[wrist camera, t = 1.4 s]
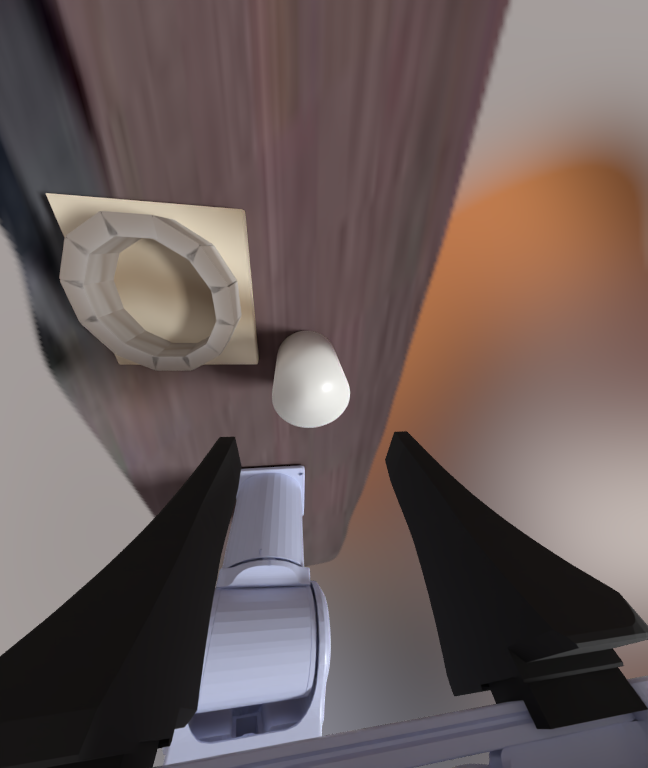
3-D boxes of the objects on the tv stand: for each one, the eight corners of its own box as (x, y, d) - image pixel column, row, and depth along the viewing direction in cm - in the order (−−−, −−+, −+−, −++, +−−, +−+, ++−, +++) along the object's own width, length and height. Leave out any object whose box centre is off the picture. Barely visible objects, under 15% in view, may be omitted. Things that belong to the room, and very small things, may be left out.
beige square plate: (258, 359, 19) (252, 379, 16) (127, 359, 18) (94, 381, 15) (245, 211, 14) (232, 202, 11) (61, 196, 13) (-7, 181, 10)
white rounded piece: (333, 383, 22) (345, 426, 16) (278, 384, 21) (274, 429, 16) (337, 331, 19) (354, 362, 14) (275, 330, 18) (269, 362, 13)
